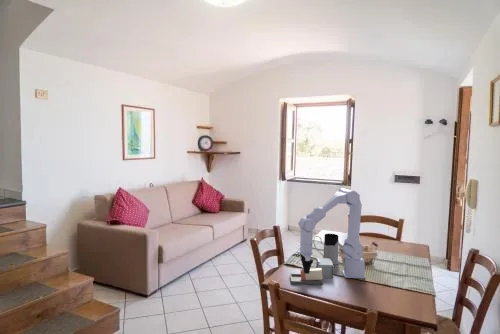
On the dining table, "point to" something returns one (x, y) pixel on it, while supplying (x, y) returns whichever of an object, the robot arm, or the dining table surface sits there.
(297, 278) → the tray
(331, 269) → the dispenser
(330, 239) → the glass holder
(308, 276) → the pink-topped cream pillar
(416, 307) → the dining table surface
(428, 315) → the dining table surface
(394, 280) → the dining table surface
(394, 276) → the dining table surface
